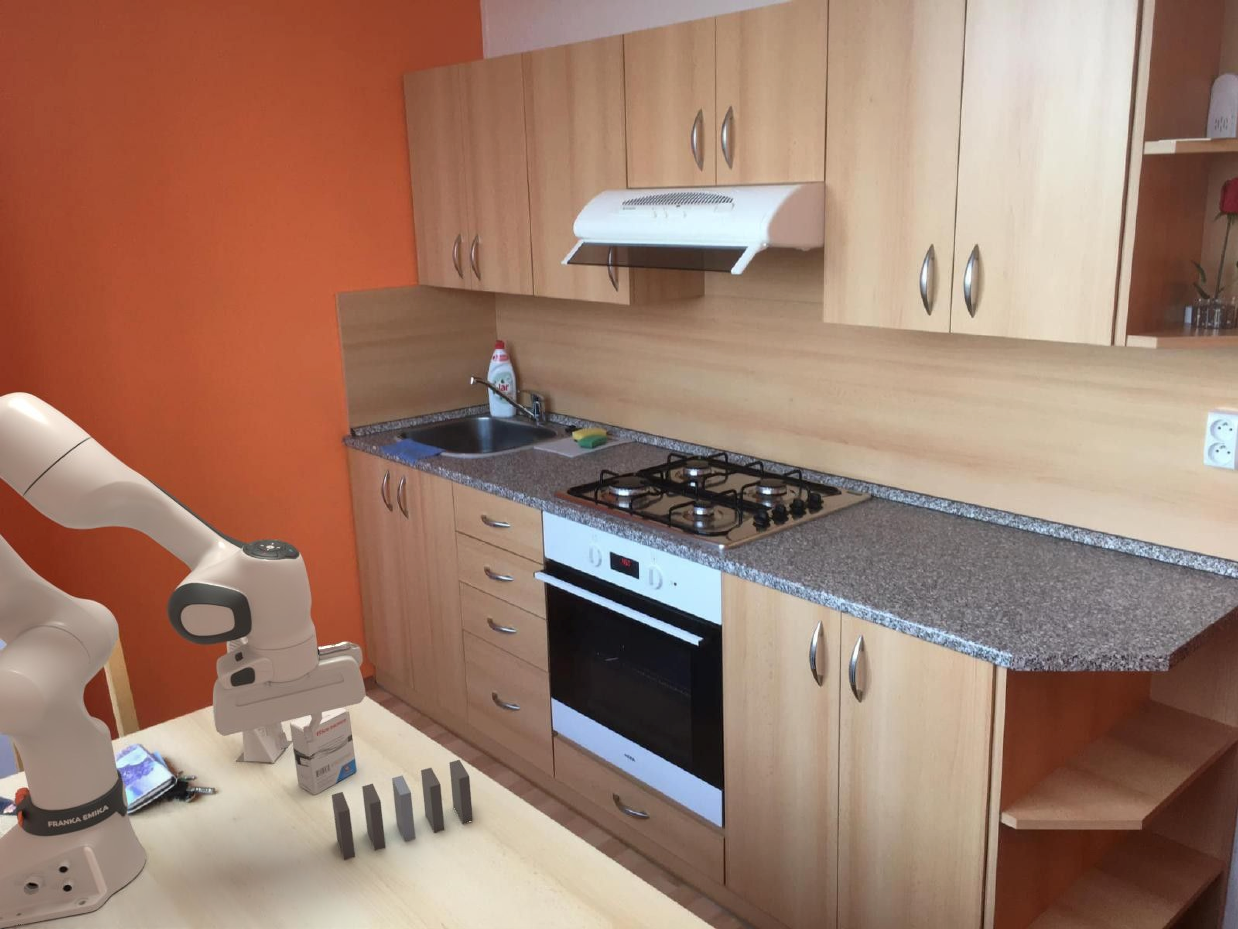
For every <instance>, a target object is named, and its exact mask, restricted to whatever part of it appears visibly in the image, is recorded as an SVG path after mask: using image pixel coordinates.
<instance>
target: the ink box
mask: <svg viewBox="0 0 1238 929" xmlns="http://www.w3.org/2000/svg"><path fill="white" fill-rule="evenodd" d="M311 719H312V718H311V715H309V716H304V717H300V718H296V719H294V720H293V721H291V722H290V723H289V727H290V734H291V741H292V743H291V744H292V747H293V748H292V750H293V755H294V756H293V757H294V762H295V763H294V764H295V770H296V777H297V785H298V786H299V787H300V788H301V789H303V790H305V791H307V792H308V793H310V794H312V795H314V796H317V795H318V794H320V793H322V792H323V791H325V790H327V789H329V788H330V787H332V786H334V785H335V784H337V783H340V782H341V781H342V780H344V779H347V778H348V777H350V776H352V775H353V774H355V773H356V772H358V771H357V764H356V755H355V748H354V739H353V732H352V725H351V717H350V711H349V709H347V708H345V707H342V708H337V709H333V710H329V711H325V712H322V720H321V722H320V724H319V726H318V728H317V730H316V737H317V740H316V741H313V742H309V743H306V741H305V737H304V730H303V727H307V726H309V724H310V722H311Z"/></svg>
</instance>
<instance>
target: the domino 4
mask: <svg viewBox="0 0 1238 929" xmlns="http://www.w3.org/2000/svg"><path fill="white" fill-rule="evenodd" d="M420 773H421V774H420V775H421V784H422V796H423V804H424V814H425V815H424V816H425V818H426V820H427V821H428V824H429V826H430V827H431V830H432V831H433V833H434V834H435V833H439V832H442V831H445V821H444V808H443V798H442V787H441V786H442V785H441V782H440V781H439V779H438V778H437V775H436V774H435V771H434V770H433V768H432V767H428V768H425V769H421V770H420Z"/></svg>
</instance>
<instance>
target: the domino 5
mask: <svg viewBox="0 0 1238 929" xmlns="http://www.w3.org/2000/svg"><path fill="white" fill-rule="evenodd" d="M449 772H450V786H451V796H452V807H453V809H454V808H455V809H454V811H455V810H456V811H455V813H456V812H457V813H456V814H458V815H457V816H458V818H459V820H460V819H461V820H460V822H461V821H462V822H461V824H462V823H463V824H462V825H465V824H464V823H466V824H468V823H467V822H469V821H473V822H474V819H473V818H474V817H473V807H472V793H471V781H470V774H469V772H467V769H466V768H465V766H464V764H463V763H462V762H461V760H460V759H458V760H457V759H456V760H453V761H449ZM469 823H470V822H469Z"/></svg>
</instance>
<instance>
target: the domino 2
mask: <svg viewBox="0 0 1238 929" xmlns="http://www.w3.org/2000/svg"><path fill="white" fill-rule="evenodd" d="M361 788H362V797H363V805H364V806H363V807H364V814H365V823H366V831H367V832H366V833H367V834H368V837H369V840H370V842H371V845H372V847H373V849H374V851H375V852H376V851H379V850H382V849H386V840H385V839H386V837H385V832H384V831H385V830H384V821H383V812H382V802H381V801H382V800H381V799H380V796H379V794H378V791H377V790H376V787H375V785H374V783H370V784H365V785H363V786H361Z"/></svg>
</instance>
